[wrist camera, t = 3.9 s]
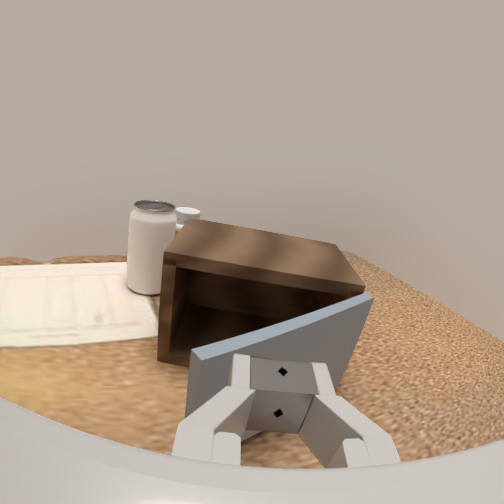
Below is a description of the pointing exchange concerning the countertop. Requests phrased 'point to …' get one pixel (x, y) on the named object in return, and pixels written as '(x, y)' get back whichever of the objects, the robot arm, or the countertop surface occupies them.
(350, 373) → the countertop surface
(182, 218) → the supplement bottle
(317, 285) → the crate
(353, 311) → the flap
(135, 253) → the can
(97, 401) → the countertop surface
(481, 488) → the robot arm
